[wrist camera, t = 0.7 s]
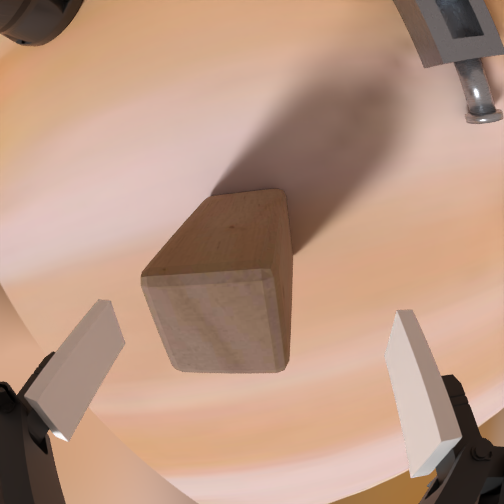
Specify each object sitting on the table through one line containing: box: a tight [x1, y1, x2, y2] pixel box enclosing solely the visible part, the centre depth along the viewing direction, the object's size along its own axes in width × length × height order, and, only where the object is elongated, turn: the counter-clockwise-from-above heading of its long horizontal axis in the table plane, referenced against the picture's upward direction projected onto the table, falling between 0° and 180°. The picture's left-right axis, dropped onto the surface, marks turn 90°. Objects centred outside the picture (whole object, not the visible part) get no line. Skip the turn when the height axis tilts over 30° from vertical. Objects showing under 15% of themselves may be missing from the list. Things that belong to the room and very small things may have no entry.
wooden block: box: [141, 188, 293, 373], centre depth 31 cm, size 10×10×20 cm
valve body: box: [393, 0, 504, 124], centre depth 22 cm, size 25×10×6 cm, turn 24°
